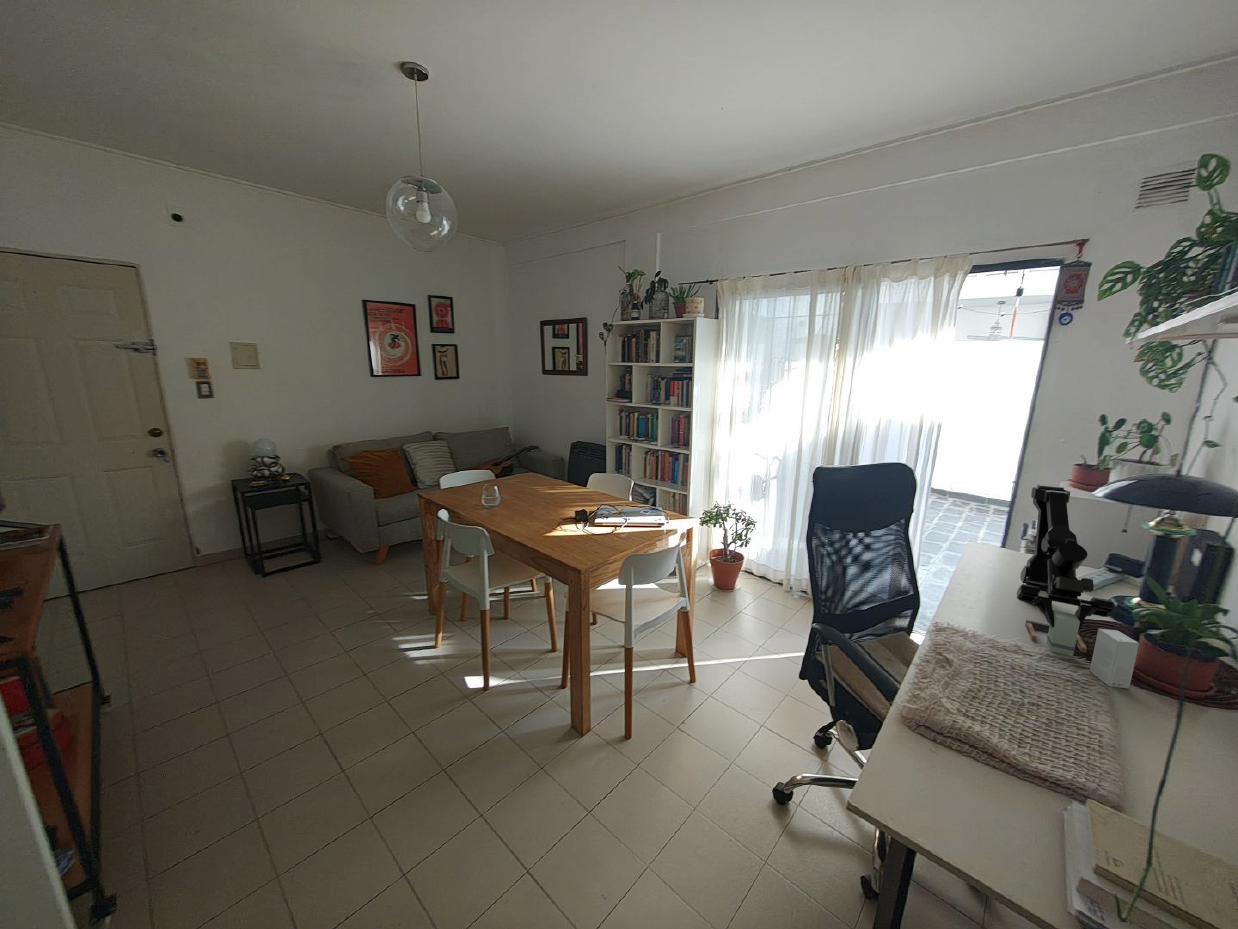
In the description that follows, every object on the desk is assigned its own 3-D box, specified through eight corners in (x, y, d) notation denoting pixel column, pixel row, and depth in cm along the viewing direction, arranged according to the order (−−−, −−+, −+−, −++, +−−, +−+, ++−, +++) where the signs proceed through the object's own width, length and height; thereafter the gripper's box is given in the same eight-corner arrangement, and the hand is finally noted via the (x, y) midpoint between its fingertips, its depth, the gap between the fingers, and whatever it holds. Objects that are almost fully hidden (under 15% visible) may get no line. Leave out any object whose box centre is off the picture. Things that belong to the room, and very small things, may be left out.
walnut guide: (1025, 625, 134) (1026, 619, 134) (1076, 636, 128) (1077, 631, 128) (1031, 640, 126) (1032, 634, 126) (1085, 653, 120) (1087, 647, 120)
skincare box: (1130, 689, 106) (1140, 643, 104) (1108, 687, 107) (1118, 641, 105) (1108, 673, 112) (1117, 629, 110) (1088, 671, 113) (1097, 628, 111)
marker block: (1046, 642, 125) (1052, 610, 123) (1068, 648, 123) (1075, 614, 121) (1049, 650, 122) (1056, 617, 120) (1073, 656, 119) (1080, 622, 117)
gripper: (1025, 557, 126) (1026, 609, 119) (1120, 572, 116) (1127, 630, 109) (1016, 573, 134) (1016, 623, 127) (1104, 589, 124) (1110, 644, 117)
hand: (1065, 629), depth 120 cm, fingers closed on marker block, 4 cm apart
